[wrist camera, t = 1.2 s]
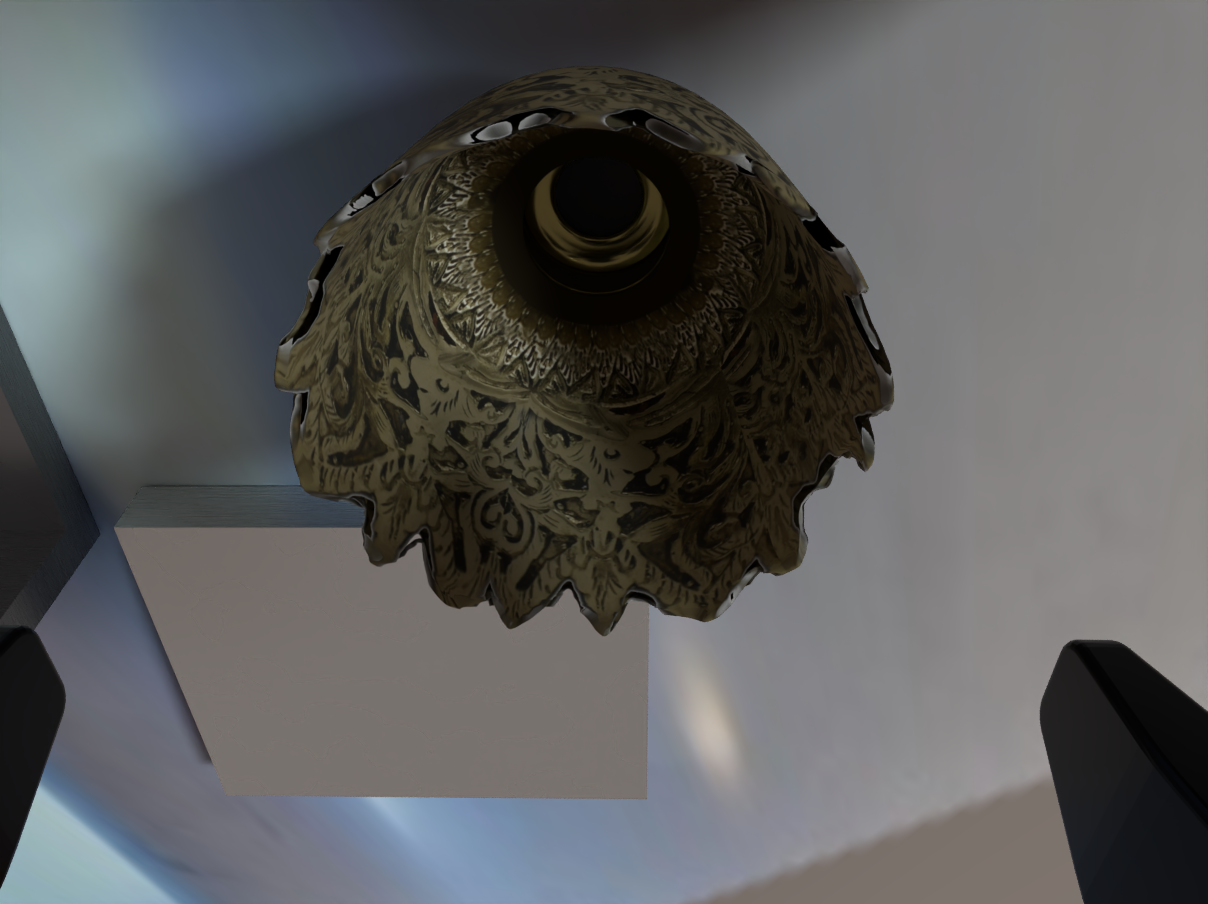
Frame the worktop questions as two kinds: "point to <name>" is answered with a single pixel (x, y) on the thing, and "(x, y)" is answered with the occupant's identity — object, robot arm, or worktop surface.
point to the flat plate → (374, 661)
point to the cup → (582, 357)
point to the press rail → (34, 498)
